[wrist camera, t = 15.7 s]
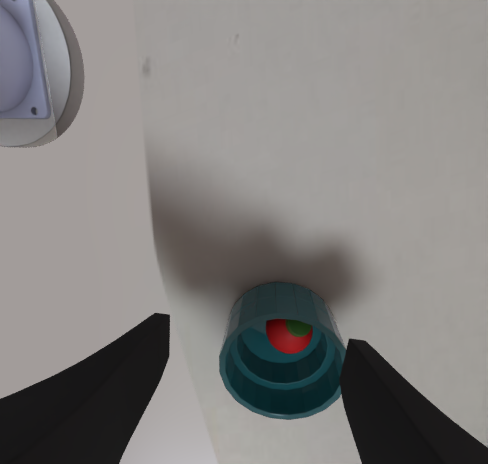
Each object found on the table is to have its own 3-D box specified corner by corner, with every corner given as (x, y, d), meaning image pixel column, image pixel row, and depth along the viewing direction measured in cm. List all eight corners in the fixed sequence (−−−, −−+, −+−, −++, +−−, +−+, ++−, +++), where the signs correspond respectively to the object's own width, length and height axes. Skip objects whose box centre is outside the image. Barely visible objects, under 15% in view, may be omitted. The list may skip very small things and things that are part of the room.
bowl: (229, 363, 22) (219, 413, 18) (229, 275, 20) (219, 308, 16) (326, 371, 22) (340, 425, 18) (338, 282, 20) (358, 318, 15)
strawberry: (257, 351, 19) (273, 344, 16) (263, 306, 21) (278, 292, 18) (300, 359, 19) (323, 355, 16) (302, 315, 21) (323, 303, 18)
